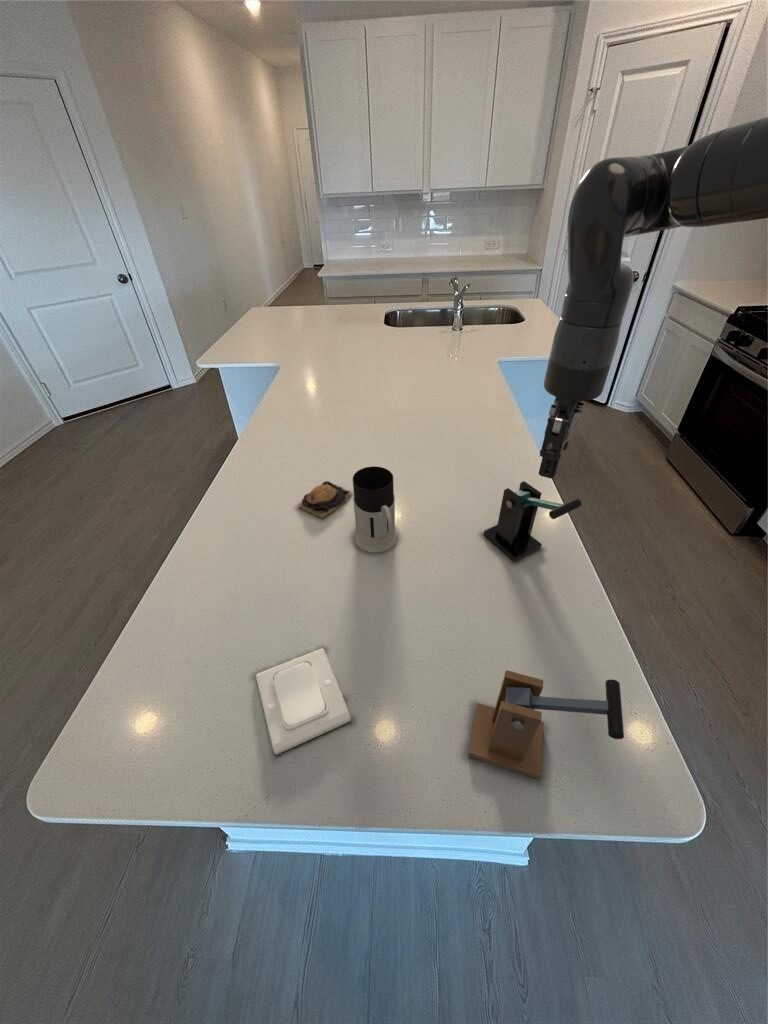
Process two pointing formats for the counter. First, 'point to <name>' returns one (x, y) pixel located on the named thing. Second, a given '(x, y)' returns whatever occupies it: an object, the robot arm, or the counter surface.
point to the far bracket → (515, 525)
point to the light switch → (301, 700)
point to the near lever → (576, 705)
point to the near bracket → (510, 730)
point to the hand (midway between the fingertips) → (552, 461)
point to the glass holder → (374, 509)
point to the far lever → (549, 504)
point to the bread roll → (324, 499)
